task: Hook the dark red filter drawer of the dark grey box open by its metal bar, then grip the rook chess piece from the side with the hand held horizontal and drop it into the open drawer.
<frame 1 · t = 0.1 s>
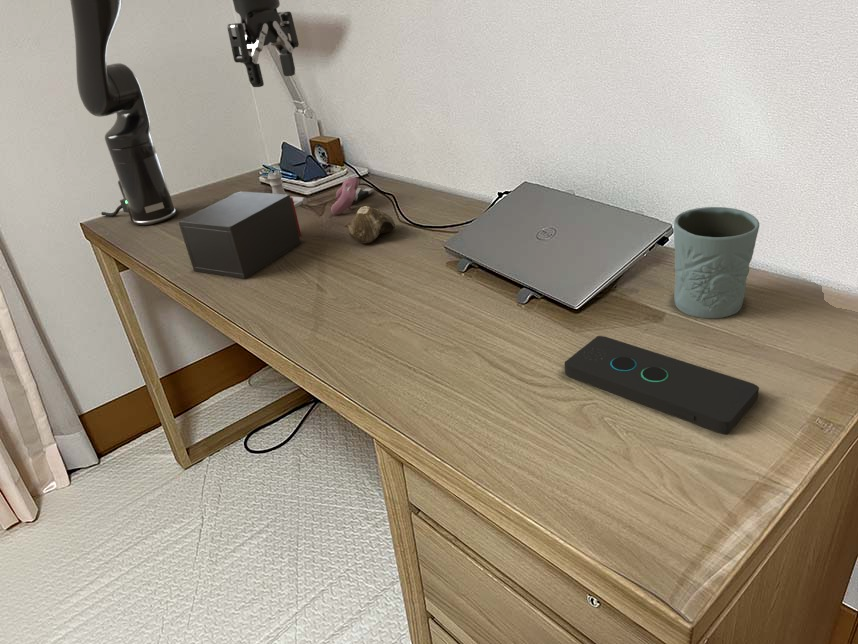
hand: (274, 81, 122), 29 cm above the table, tool pointing down, fingers open, 8 cm apart
grey-green embossed cup: (709, 305, 94), on the table
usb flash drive: (354, 198, 152), on the table, touching pink irregular lump
dark grey box: (248, 257, 130), on the table
fossilized seashell: (372, 237, 131), on the table
smart home device: (655, 387, 79), on the table
rook chess piece: (282, 208, 153), on the table
pink irregular lump: (348, 206, 147), on the table, touching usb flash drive
drawer: (259, 222, 131), point 5 cm above the table, slide at 0.0 cm
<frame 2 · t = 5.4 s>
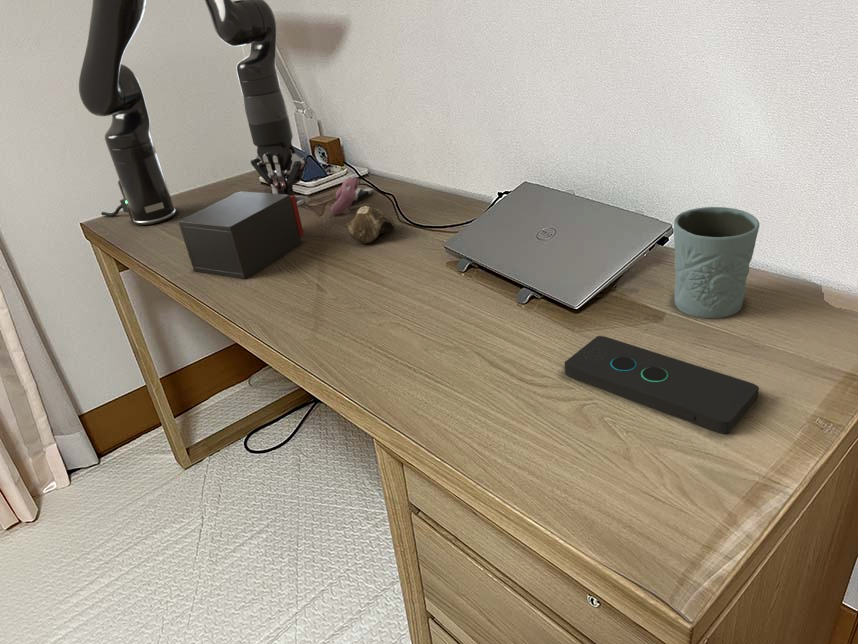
hand: (288, 205, 137), 5 cm above the table, tool pointing down, fingers closed
drawer: (262, 221, 131), point 5 cm above the table, slide at 0.8 cm, touching gripper
everything else where it was.
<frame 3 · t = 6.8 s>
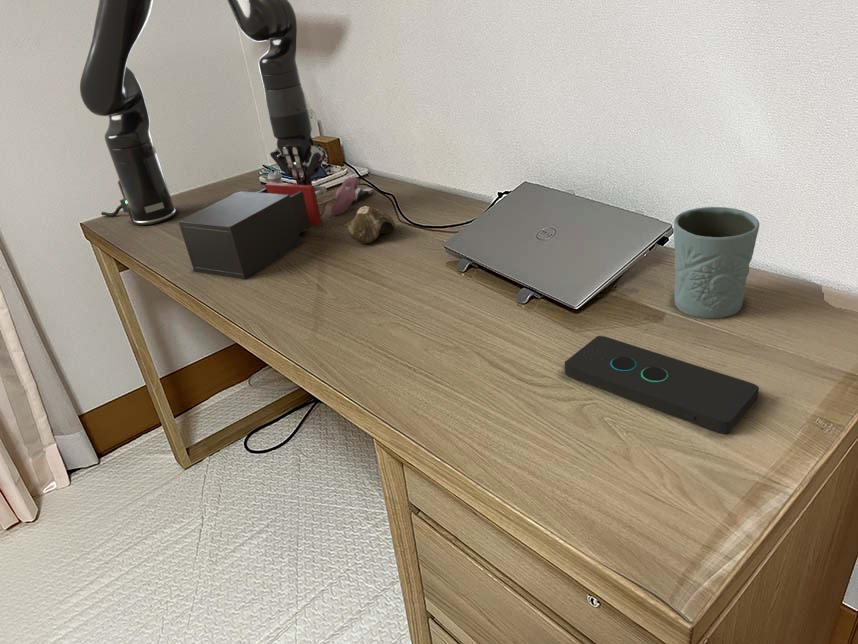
hand: (307, 195, 141), 5 cm above the table, tool pointing down, fingers closed
drawer: (282, 210, 136), point 5 cm above the table, slide at 6.6 cm, touching gripper
everything else where it was.
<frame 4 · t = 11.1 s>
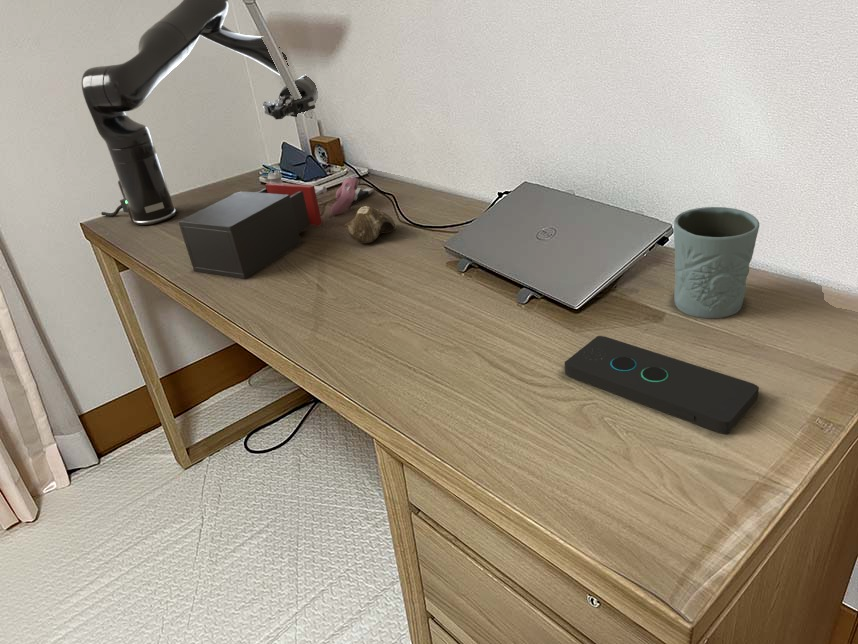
hand: (277, 114, 153), 18 cm above the table, tool horizontal, fingers closed
drawer: (282, 210, 136), point 5 cm above the table, slide at 6.6 cm
everything else where it was.
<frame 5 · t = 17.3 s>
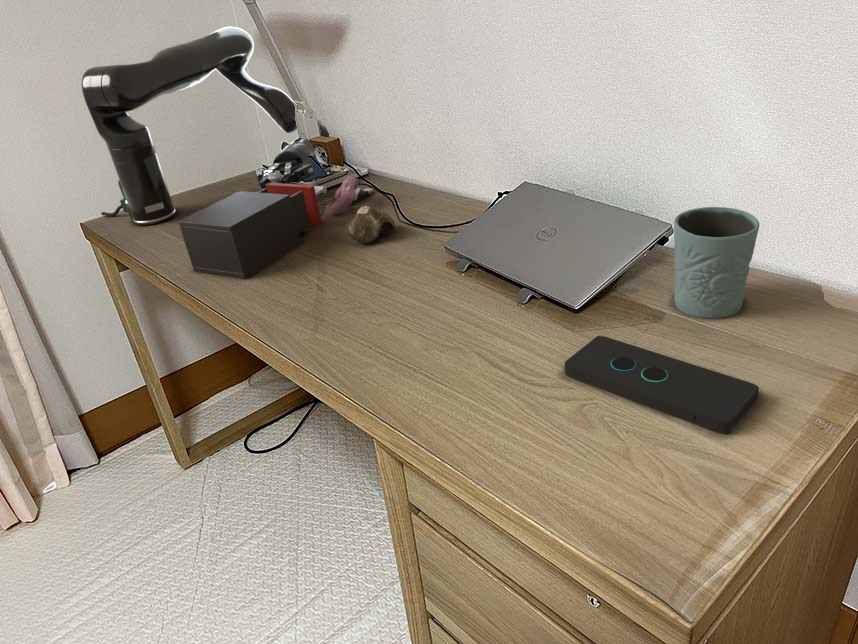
hand: (271, 185, 148), 6 cm above the table, tool horizontal, fingers closed on rook chess piece, 3 cm apart
rook chess piece: (282, 208, 153), on the table, touching gripper
everything else where it was.
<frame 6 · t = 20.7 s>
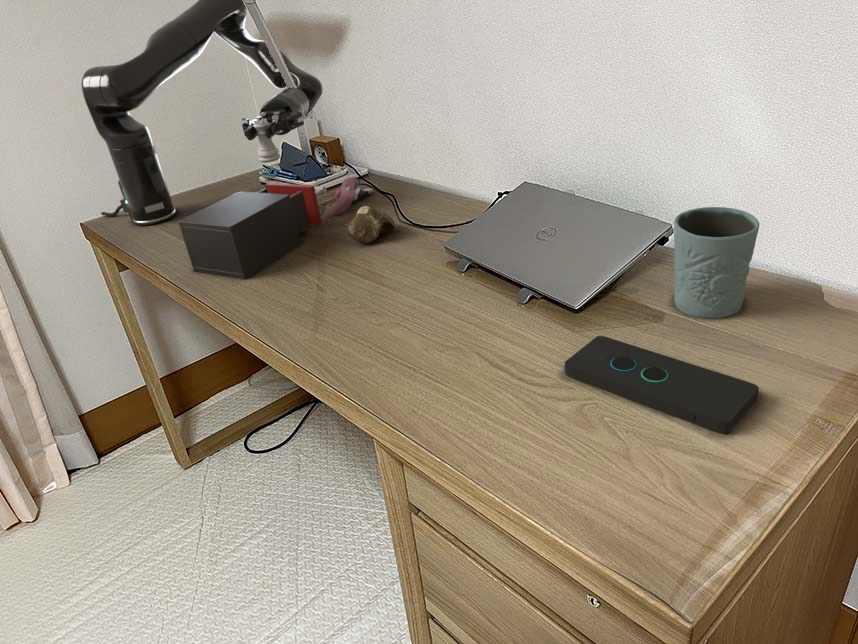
hand: (258, 134, 135), 19 cm above the table, tool horizontal, fingers closed on rook chess piece, 3 cm apart
rook chess piece: (270, 160, 140), point 13 cm above the table, touching gripper
everything else where it was.
when the fingers open (13 cm above the table, at t = 24.1 s): rook chess piece drops 5 cm, resting on drawer.
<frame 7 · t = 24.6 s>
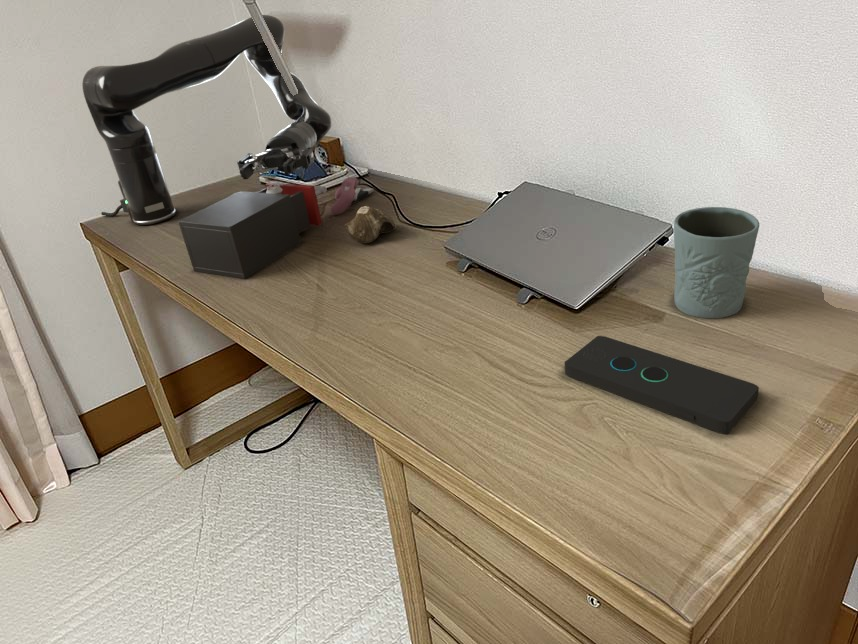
hand: (264, 172, 129), 14 cm above the table, tool horizontal, fingers open, 8 cm apart
rook chess piece: (282, 226, 136), point 2 cm above the table, touching drawer
drawer: (282, 210, 136), point 5 cm above the table, slide at 6.6 cm, touching rook chess piece
everything else where it was.
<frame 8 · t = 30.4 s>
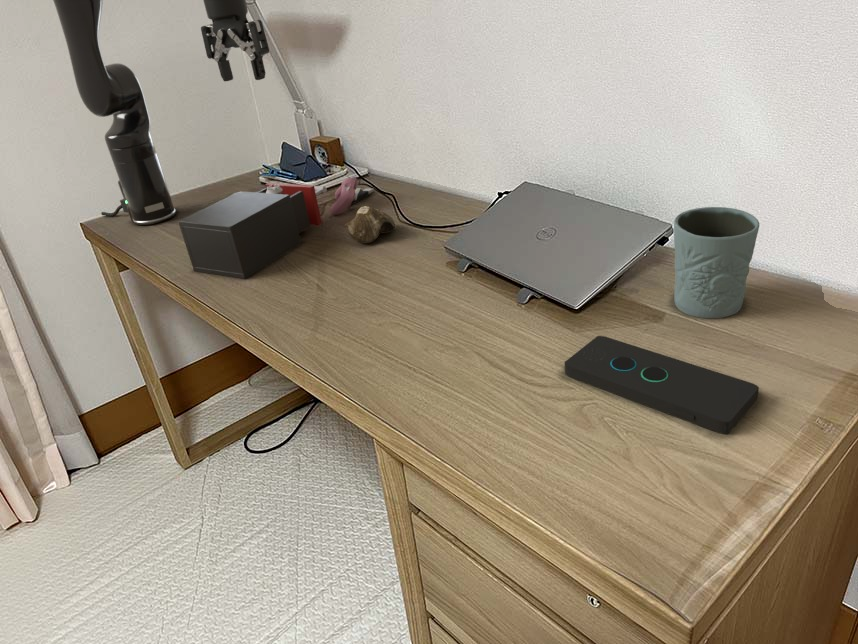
hand: (244, 79, 136), 28 cm above the table, tool pointing down, fingers open, 8 cm apart
nothing on the table moved.
at the end: drawer slide at 6.6 cm; rook chess piece inside the target area in the dark grey box (6.1 cm from its centre), point 1.9 cm above the dark grey box's base; the gripper is holding nothing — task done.
